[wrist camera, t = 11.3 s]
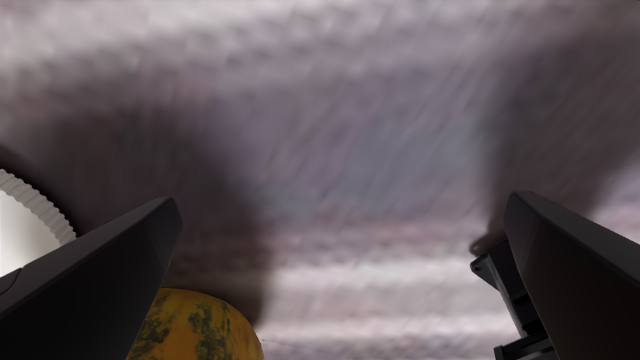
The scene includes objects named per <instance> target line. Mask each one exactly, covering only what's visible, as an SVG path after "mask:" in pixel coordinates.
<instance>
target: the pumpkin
mask: <svg viewBox="0 0 640 360" xmlns="http://www.w3.org/2000/svg"><path fill="white" fill-rule="evenodd" d="M126 360H264V355H263V351H262V347H261V343H260V341H259V339H258V337H257V336H256V334H255V332H254V330H253V328H252V326H251V325H250V323H249V322H248V321H247V320H246V318H245V317H244V316H243V315H242V314H241V313H240V312H239V311H238V310H237V309H236V308H234V307H233V306H232V305H230V304H229V303H227V302H225V301H223V300H221V299H218V298H216V297H213V296H210V295H207V294H204V293H200V292H196V291H190V290H185V289H175V288H160V289H159V291H158V293H157V295H156V297H155V299H154V301H153V304H152V306H151V308H150V310H149V312H148V314H147V316H146V318H145V320H144V323H143V325H142V327H141V329H140V331H139V333H138V335H137V337H136V340H135V342H134V344H133V346H132V348H131V350H130V352H129V354H128V357H127V359H126Z"/></svg>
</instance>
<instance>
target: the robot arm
mask: <svg viewBox="0 0 640 360" xmlns="http://www.w3.org/2000/svg"><path fill="white" fill-rule="evenodd" d="M503 223H504V228H505V231H506V234H507V237H508V239H507V240H506V241H504V242H502V243H501V244H499V245H498V246H496V247H495V248H493V249H491V250H490V251H488V252H487V253H485V254H484V255H482V256H481V257H479V258H477V259H476V260H474V261H473V262H471V264H470V268H471V270H472V272H473V273H475V274H476V275H477V276H479V277H480V278H481V279H483V280H484V281H486V282H487V283H488V284H490V285H491V286H492V287H494V288H495V289H497V290H498V291H499V292H500V293H501V296H502V298H503V300H504V302H505V304H506V306H507V308H508V311H509V313H510V315H511V317H512V319H513V321H514V323H515V326H516V328H517V330H518V332H519V334H520V336H521V338H520V339H518V340H516V341H513V342H511V343H509V344H506V345H504V346H502V345H500V346H498V347H495V348H494V353H495V358H496V360H640V244H638V243H636V242H634V241H631V240H629V239H627V238H625V237H623V236H621V235H619V234H617V233H615V232H613V231H611V230H609V229H607V228H605V227H603V226H601V225H599V224H597V223H595V222H593V221H590V220H588V219H586V218H584V217H582V216H580V215H578V214H576V213H574V212H572V211H570V210H568V209H566V208H564V207H562V206H560V205H558V204H556V203H554V202H552V201H550V200H547V199H545V198H543V197H541V196H539V195H537V194H535V193H533V192H531V191H513V192H512V193H511V194H510V195H509V198H508V202H507V206H506V210H505V213H504V218H503ZM181 230H182V218H181V216H180V213H179V210H178V207H177V204H176V202H175V200H174V199H173V198H172V197H157V198H155V199H153V200H151V201H149V202H147V203H145V204H143V205H141V206H139V207H137V208H135V209H133V210H131V211H129V212H128V213H126V214H124V215H122V216H120V217H118V218H116V219H114V220H112V221H110V222H108V223H106V224H104V225H102V226H100V227H98V228H96V229H94V230H92V231H90V232H88V233H86V234H84V235H83V236H81V237H79V238H77V239H75V240H73V241H71V242H69V243H67V244H65V245H63V246H61V247H59V248H57V249H55V250H53V251H51V252H49V253H47V254H45V255H43V256H41V257H40V258H38V259H36V260H34V261H32V262H30V263H28V264H26V265H24V266H23V268H22V267H20V268H18V269H16V270H14V271H12V272H10V273H8V274H6V275H4V276H2V277H0V360H126V359H127V357H128V354H129V352H130V350H131V348H132V346H133V344H134V342H135V340H136V337H137V335H138V333H139V331H140V329H141V327H142V325H143V323H144V320H145V318H146V316H147V314H148V312H149V310H150V308H151V306H152V304H153V301H154V299H155V297H156V295H157V293H158V291H159V289H160V287H161V284H162V282H163V280H164V278H165V275H166V273H167V270H168V268H169V265H170V262H171V259H172V256H173V253H174V250H175V247H176V245H177V242H178V239H179V236H180V233H181ZM478 266H479V267H478Z"/></svg>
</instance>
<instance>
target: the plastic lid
mask: <svg viewBox="0 0 640 360" xmlns="http://www.w3.org/2000/svg"><path fill="white" fill-rule="evenodd" d="M59 211H60V210H59V209H58V208H55V207H54V206H53V203H52V202H49V201H48V200H47V198H46V197H45V196H42V195H41V194H39V191H38V190H34V189H33V188H32V186H31V185H29V184H25V183H24V182H23V180H21V179H17V178H15V176H14V175H13V174H8V173H6V171H5V170H3V169H0V277H2V276H4V275H6V274H8V273H10V272H12V271H14V270H16V269H18V268H20V267H22V268H23V266H24V265H26V264H28V263H30V262H32V261H34V260H36V259H38V258H40V257H41V256H43V255H45V254H47V253H49V252H51V251H53V250H55V249H57V248H59V247H61V246H63V245H65V244H67V243H69V242H71V241H73V240H75V239H77V238H76V233H75V232H73V227H72V226H70V225H69V221H68V220H65V218H64V217H65V216H64V215H63V214H60V212H59Z"/></svg>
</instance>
